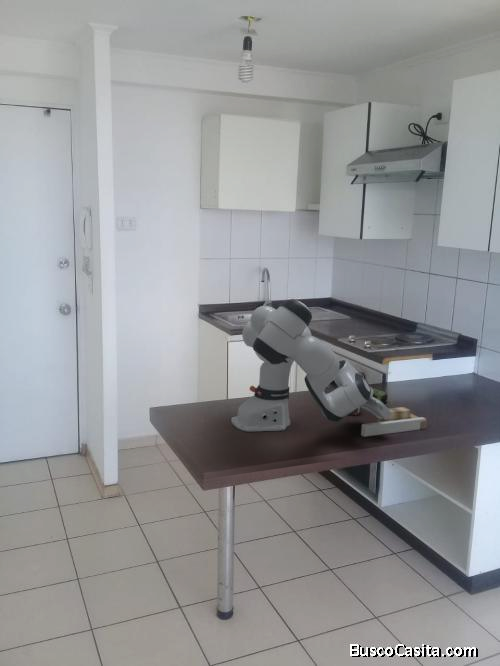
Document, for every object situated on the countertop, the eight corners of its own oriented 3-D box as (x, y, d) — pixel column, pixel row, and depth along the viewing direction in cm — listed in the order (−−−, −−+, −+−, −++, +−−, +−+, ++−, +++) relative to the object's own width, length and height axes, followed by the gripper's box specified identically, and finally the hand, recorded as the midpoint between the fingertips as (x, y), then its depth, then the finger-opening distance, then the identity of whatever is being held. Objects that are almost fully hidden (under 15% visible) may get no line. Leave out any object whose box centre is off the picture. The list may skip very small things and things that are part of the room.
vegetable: (389, 403, 262) (390, 392, 262) (381, 404, 260) (382, 393, 259) (366, 394, 274) (367, 383, 273) (358, 395, 271) (359, 385, 270)
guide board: (364, 436, 220) (365, 426, 220) (345, 425, 231) (346, 415, 230) (425, 428, 232) (427, 418, 231) (405, 418, 243) (406, 408, 242)
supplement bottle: (343, 413, 245) (345, 387, 242) (348, 410, 250) (350, 383, 248) (357, 416, 242) (360, 389, 240) (362, 412, 247) (364, 386, 245)
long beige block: (383, 430, 228) (385, 412, 226) (377, 427, 231) (378, 409, 230) (409, 427, 233) (411, 410, 231) (402, 424, 236) (404, 406, 235)
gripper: (383, 395, 214) (402, 419, 220) (350, 380, 232) (369, 402, 238) (371, 408, 213) (391, 432, 219) (339, 392, 231) (359, 414, 237)
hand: (379, 416), depth 228 cm, fingers closed, pressing on long beige block
